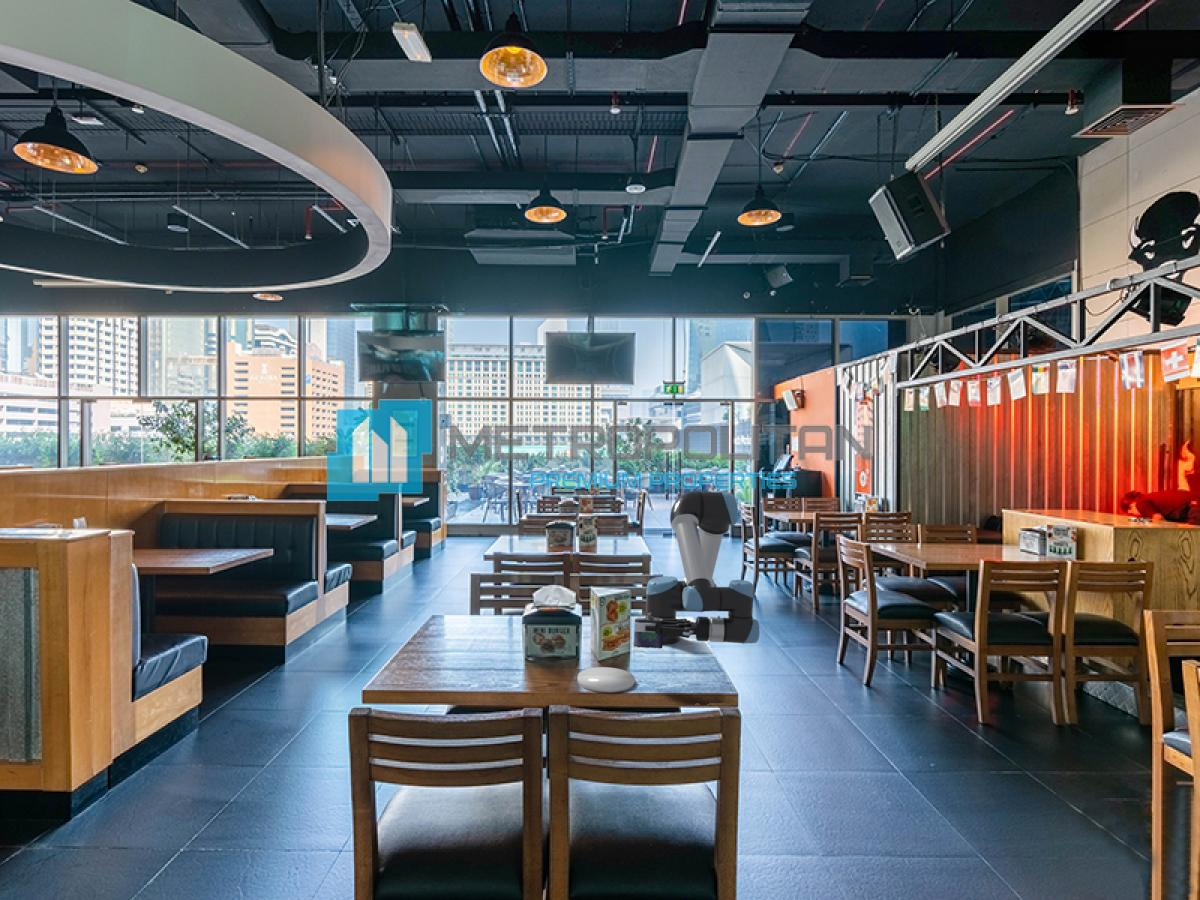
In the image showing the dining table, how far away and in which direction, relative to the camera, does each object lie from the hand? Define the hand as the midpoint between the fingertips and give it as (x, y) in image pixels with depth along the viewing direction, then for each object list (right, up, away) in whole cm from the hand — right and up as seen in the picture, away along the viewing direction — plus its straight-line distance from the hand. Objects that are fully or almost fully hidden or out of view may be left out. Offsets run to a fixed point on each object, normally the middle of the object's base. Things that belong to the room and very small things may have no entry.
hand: (634, 625), depth 220 cm
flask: (+4, -7, 0) cm, 8 cm away
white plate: (-9, -18, -1) cm, 20 cm away
